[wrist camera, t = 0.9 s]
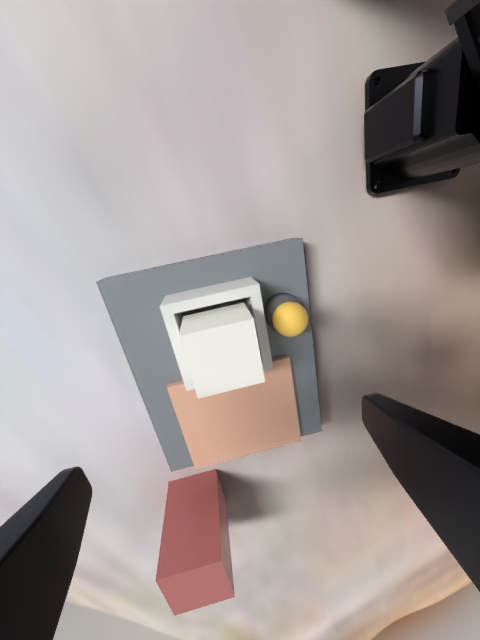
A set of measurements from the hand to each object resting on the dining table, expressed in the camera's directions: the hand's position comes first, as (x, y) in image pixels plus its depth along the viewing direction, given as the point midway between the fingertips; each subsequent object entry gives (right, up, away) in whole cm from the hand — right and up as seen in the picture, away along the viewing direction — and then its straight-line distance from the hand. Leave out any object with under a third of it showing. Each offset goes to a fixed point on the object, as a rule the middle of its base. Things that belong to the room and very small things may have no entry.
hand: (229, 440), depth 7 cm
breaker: (-1, +2, +8) cm, 8 cm away
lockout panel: (-1, 0, +13) cm, 13 cm away
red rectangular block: (-4, -13, +17) cm, 21 cm away
